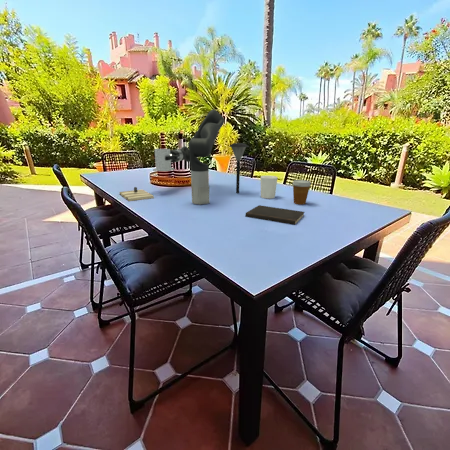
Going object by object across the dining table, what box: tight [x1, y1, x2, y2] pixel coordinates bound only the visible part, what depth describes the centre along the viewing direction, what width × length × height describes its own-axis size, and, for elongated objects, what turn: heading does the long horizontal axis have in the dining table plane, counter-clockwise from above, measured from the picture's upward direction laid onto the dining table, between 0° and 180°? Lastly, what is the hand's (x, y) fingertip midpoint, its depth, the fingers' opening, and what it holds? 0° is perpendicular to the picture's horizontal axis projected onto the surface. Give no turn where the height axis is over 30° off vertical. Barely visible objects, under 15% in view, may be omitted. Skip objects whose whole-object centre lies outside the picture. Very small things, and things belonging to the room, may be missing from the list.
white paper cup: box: [260, 175, 278, 200], centre depth 159 cm, size 10×10×12 cm
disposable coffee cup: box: [292, 179, 312, 206], centre depth 146 cm, size 10×10×12 cm
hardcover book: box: [244, 204, 306, 226], centre depth 125 cm, size 16×23×2 cm
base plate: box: [119, 186, 155, 202], centre depth 159 cm, size 20×14×6 cm
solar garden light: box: [228, 142, 250, 194], centre depth 165 cm, size 12×12×30 cm
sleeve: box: [152, 148, 175, 172], centre depth 160 cm, size 9×9×12 cm
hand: (160, 158), depth 157 cm, fingers closed on sleeve, 6 cm apart
